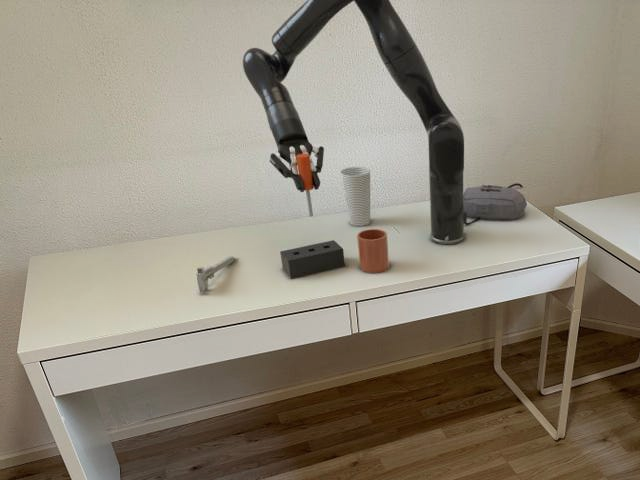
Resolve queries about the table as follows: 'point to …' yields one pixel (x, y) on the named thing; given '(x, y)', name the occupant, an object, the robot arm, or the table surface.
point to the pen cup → (373, 250)
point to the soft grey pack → (493, 202)
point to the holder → (312, 259)
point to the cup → (357, 194)
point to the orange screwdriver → (306, 177)
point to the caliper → (210, 273)
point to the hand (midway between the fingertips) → (310, 188)
